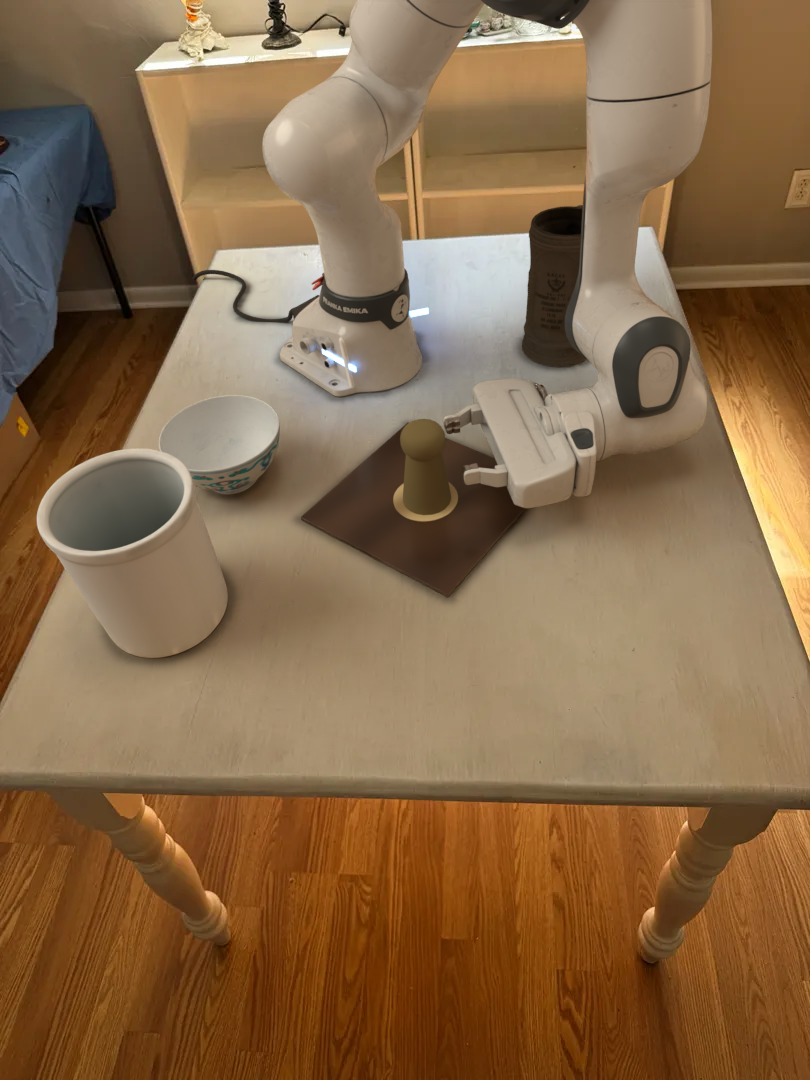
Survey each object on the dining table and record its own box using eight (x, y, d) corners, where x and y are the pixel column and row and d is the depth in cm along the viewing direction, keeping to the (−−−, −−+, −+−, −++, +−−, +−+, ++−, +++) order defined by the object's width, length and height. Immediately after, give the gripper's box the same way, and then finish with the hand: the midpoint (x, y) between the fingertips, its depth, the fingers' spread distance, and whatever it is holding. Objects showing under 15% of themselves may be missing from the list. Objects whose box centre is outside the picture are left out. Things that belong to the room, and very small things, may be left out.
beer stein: (592, 372, 113) (609, 234, 99) (517, 368, 115) (524, 232, 101) (595, 322, 124) (611, 191, 110) (527, 319, 126) (534, 190, 112)
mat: (301, 520, 96) (300, 516, 96) (408, 424, 108) (407, 421, 107) (447, 597, 86) (447, 593, 86) (548, 483, 98) (549, 479, 97)
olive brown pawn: (416, 521, 94) (410, 451, 86) (394, 492, 98) (386, 422, 90) (460, 503, 95) (458, 432, 87) (436, 475, 99) (432, 405, 91)
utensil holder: (208, 672, 82) (157, 560, 69) (77, 658, 84) (6, 547, 71) (250, 566, 92) (213, 451, 79) (132, 556, 94) (78, 443, 81)
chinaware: (305, 445, 106) (295, 399, 101) (267, 523, 96) (254, 476, 91) (203, 436, 109) (188, 390, 104) (156, 510, 99) (137, 464, 94)
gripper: (541, 358, 98) (433, 377, 97) (600, 462, 84) (474, 486, 83) (539, 400, 102) (435, 418, 101) (594, 505, 88) (475, 527, 87)
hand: (453, 449), depth 92 cm, fingers open, 8 cm apart
